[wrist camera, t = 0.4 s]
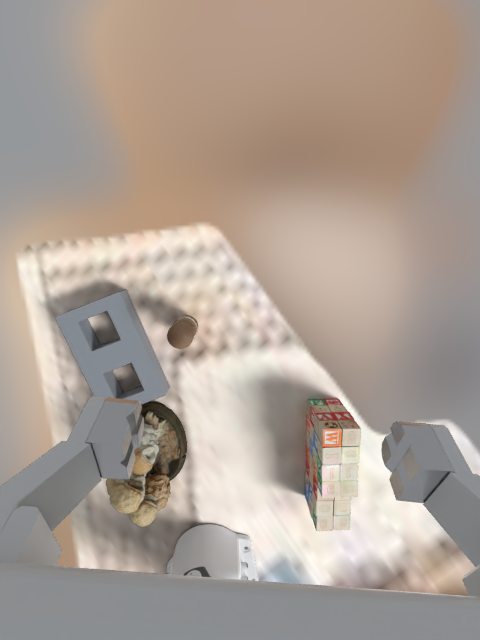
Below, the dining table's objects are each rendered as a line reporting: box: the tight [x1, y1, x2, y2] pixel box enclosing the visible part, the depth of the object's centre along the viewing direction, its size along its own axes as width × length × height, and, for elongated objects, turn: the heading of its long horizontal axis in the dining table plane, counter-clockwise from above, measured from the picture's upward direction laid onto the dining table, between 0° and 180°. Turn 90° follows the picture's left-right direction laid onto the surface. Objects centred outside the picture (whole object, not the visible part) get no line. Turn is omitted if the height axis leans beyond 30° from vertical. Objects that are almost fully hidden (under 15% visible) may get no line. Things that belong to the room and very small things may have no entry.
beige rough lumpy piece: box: [106, 402, 187, 527], centre depth 58 cm, size 18×12×17 cm, turn 9°
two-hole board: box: [55, 290, 170, 404], centre depth 61 cm, size 20×12×4 cm, turn 21°
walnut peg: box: [167, 316, 198, 349], centre depth 57 cm, size 4×4×10 cm
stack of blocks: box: [305, 399, 361, 531], centre depth 61 cm, size 21×6×12 cm, turn 1°
